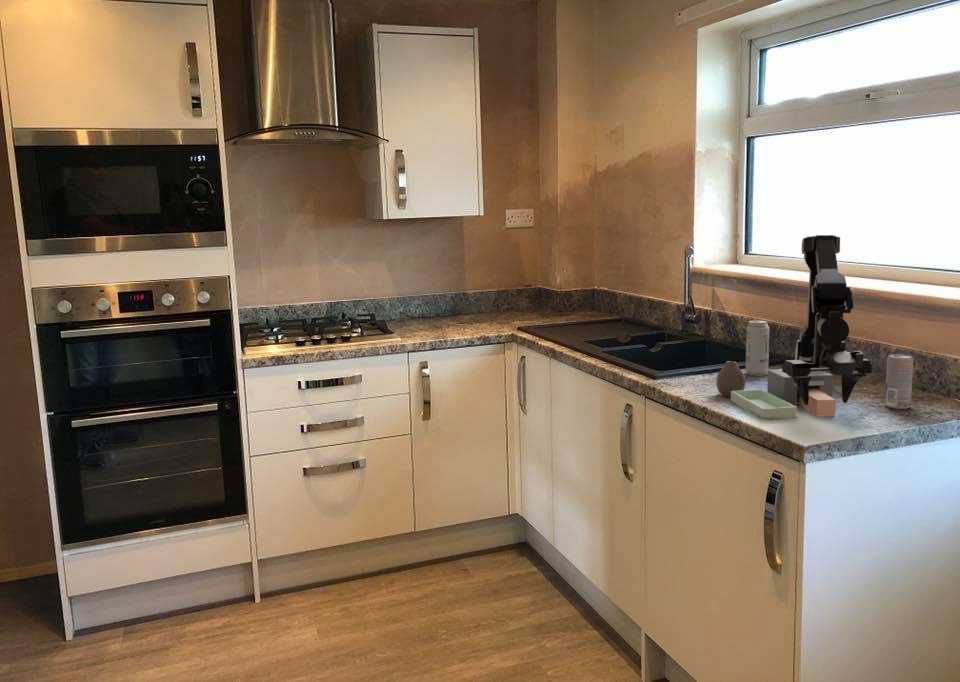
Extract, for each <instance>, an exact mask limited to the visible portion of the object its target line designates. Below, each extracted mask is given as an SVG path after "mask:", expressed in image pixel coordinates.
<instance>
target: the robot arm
mask: <svg viewBox="0 0 960 682" xmlns="http://www.w3.org/2000/svg"><path fill="white" fill-rule="evenodd" d="M840 252H841V237H840V236H837V235H836V234H833V233H816V234H814V235H807V237H803V238H802V240H801V254H802V255H803V259H804V261H805V264H806V265H807V268H809V278H808V279H809V280H808V293H807V294H808V297H807V313H806V314H807V315H806V316H807V317H806V324H804V326H803V327H802V329H801V330H800V332H799V339H797V340H796V345H795V351H794V352H795V353H794V354H795V355H794V356H795V357H794V359H786V360H784V362H783V363H782V366H781V369H782V372H784V373H786V374H788V376H790V377H792V378H793V380H794V382H795V383H796V385H797V387H798V390H799V392H800V395H801V397H802V400H803V402H804V404H805V405H808V401H809V382H810V380H811V377H809V376H808V375H809V374H810V373H811V371H824V372H827V371H830V372H831V374H832V375H835V376H840V375H841V398H842V402H843V404H846V403H848V401H849V399H850V396H851V394H852V392H853V390H854V387H855V386H856V384H857V383H858V381H860V380H861V379H862V378H865V377H866V376H867V374H872V373H873V369H874V368H873V367H874V365H873V363H872V361H871V360H869V359H867V358H864V353H863V351H862V350H853V351H847V349H846V346H847V345H846V342H845V341H846V339H847V338H848V337H849V335H850V327H849V325H848V323H847V321H846V320H845V319H844V314H851V313H852V310H853V308H854V301H853V298H854V297H853V291H852V289H851V286H850V285H847V281H846V280H847V279H846V276H844V275H843V274H841V273H840V272H839V268H838V261H837V254H839V253H840Z"/></svg>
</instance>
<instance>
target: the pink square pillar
mask: <svg viewBox="0 0 960 682" xmlns="http://www.w3.org/2000/svg"><path fill="white" fill-rule="evenodd" d="M797 404H798V405H800V406H802V407H803V408H804V409H805V410H807V411H809V412H810V413H812V414H813V415H815V416H816V417H829V416H830V417H832V416H835V415H836V399H835V398H833V396H832V397H830V396H828V395H827V394H825V393H823V392H822V391H820V390H818V389H817V388H815V387H813V386H809V401H808V405H805V404H804V402H803V400H802V397H801V395H800V392H799V390H798V387H797Z"/></svg>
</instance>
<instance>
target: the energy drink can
mask: <svg viewBox="0 0 960 682" xmlns="http://www.w3.org/2000/svg"><path fill="white" fill-rule="evenodd" d="M745 336H746V337H745V338H746V339H745V342H746V343H745V371H746V372H747V375H748V376H752V375H753V376H754V377H761V376H762V377H764V376H766V375H767V374H768V370H769V357H770V356H769V352H770V351H769V350H770V349H769V347H770V326H769V325H768V321H766V320H758V319H757V320H756V319H755V320H749V321H748V324H747V326H746V333H745Z"/></svg>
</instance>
